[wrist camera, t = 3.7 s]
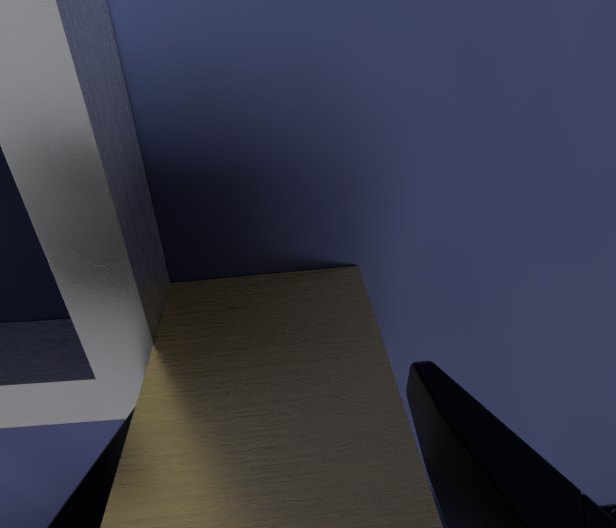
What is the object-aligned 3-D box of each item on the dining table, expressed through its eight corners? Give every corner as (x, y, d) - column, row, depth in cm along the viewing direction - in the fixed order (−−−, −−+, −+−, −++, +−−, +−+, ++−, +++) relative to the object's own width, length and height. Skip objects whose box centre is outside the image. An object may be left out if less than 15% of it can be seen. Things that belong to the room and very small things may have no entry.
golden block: (358, 265, 9) (464, 595, 4) (356, 388, 12) (425, 698, 7) (170, 282, 9) (66, 645, 4) (205, 404, 11) (163, 734, 7)
